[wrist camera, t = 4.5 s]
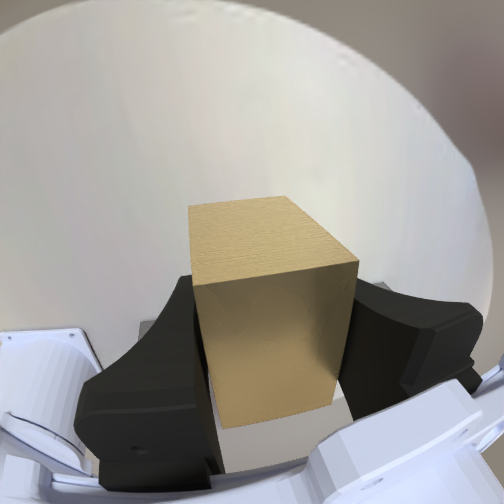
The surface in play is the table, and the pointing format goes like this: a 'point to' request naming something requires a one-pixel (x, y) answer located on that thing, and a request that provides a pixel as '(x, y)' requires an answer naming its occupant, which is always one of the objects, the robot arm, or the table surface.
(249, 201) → the block
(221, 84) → the table surface
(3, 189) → the table surface
